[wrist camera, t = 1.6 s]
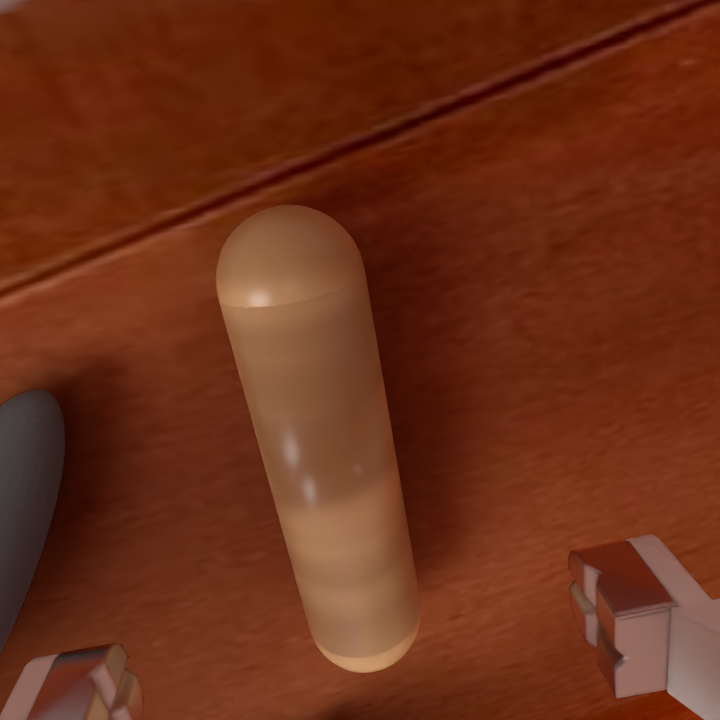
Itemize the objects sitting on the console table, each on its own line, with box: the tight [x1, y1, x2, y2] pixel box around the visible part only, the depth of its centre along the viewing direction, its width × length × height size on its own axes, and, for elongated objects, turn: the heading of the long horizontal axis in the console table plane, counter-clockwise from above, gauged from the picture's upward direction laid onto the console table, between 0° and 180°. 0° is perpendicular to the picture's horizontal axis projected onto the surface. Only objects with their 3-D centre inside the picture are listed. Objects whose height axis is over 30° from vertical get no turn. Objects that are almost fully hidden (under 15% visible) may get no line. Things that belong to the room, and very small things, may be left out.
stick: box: [216, 205, 421, 673], centre depth 15 cm, size 13×3×3 cm, turn 10°
